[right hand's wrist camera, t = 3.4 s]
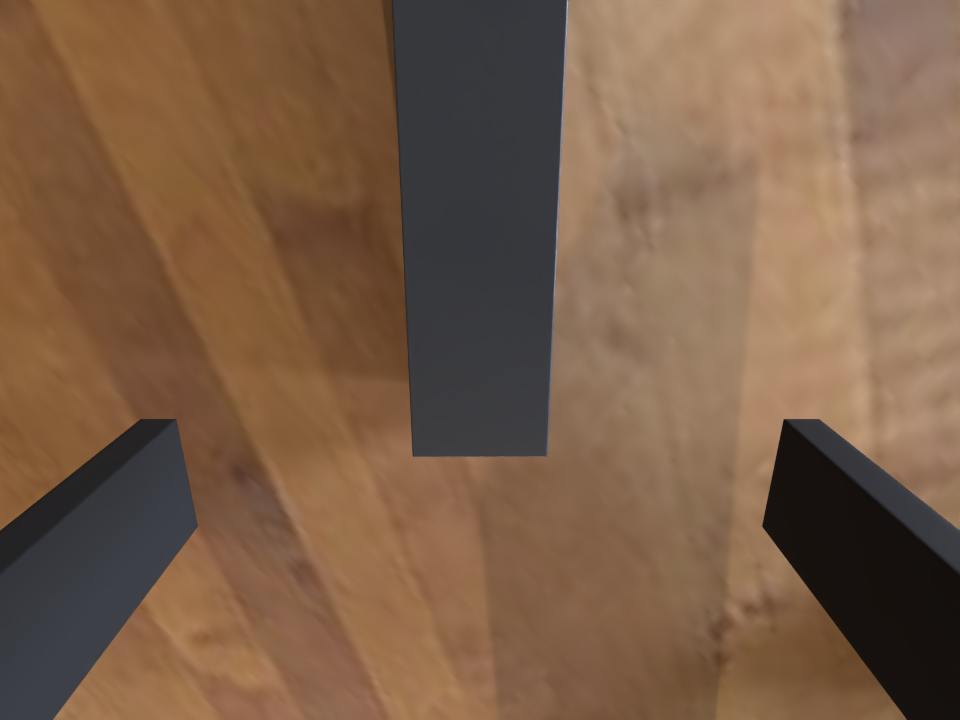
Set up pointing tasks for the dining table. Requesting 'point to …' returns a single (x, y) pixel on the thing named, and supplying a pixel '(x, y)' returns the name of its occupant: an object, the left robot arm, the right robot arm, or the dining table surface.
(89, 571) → the right robot arm
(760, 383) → the dining table surface
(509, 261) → the beam
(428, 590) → the dining table surface
